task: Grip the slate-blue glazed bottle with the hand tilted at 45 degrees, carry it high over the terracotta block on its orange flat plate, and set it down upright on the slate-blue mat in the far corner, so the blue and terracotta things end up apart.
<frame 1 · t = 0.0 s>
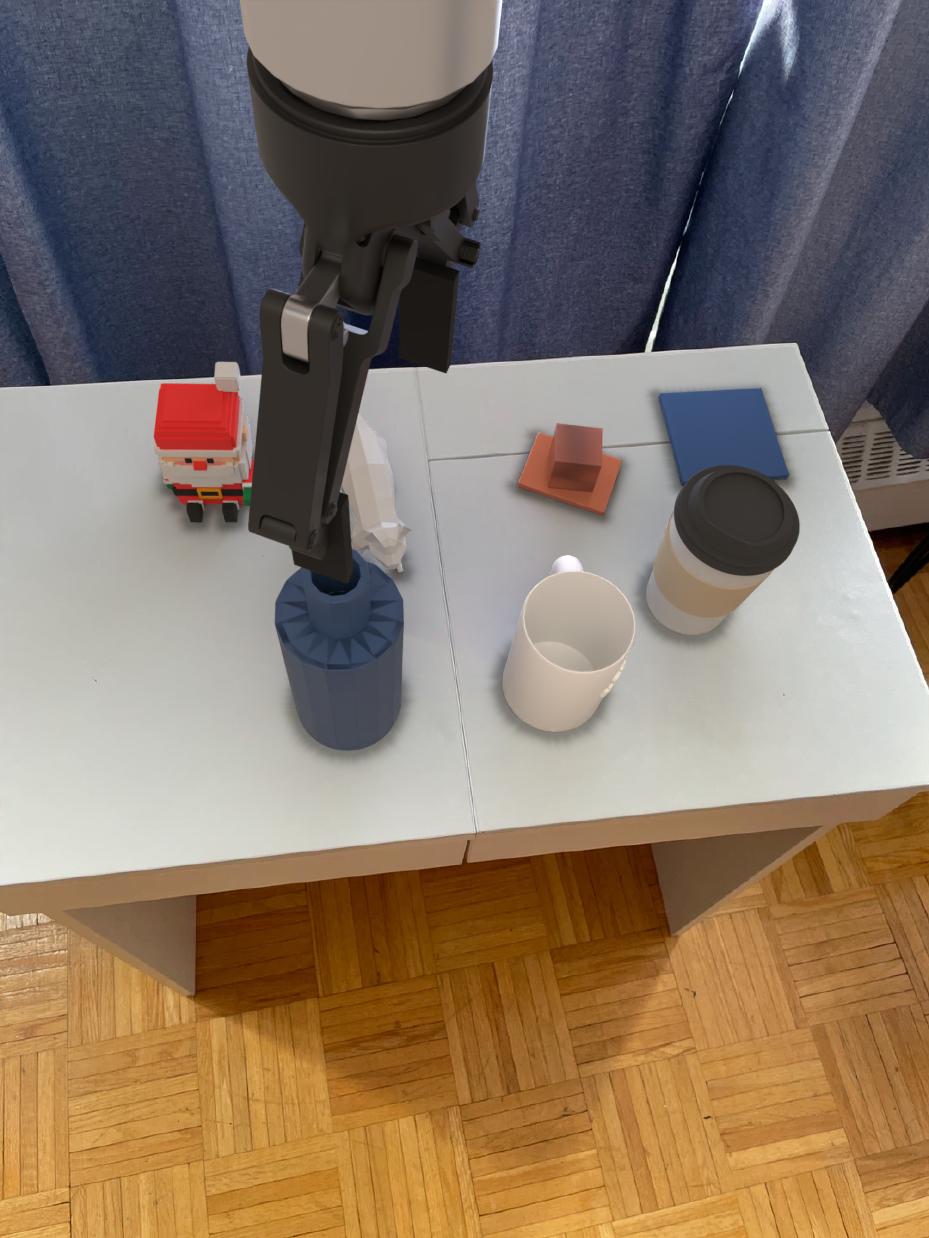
hand: (377, 458, 47), 30 cm above the table, tool pointing down, fingers open, 13 cm apart
terracotta block: (570, 471, 83), point 1 cm above the table, touching orange flat plate
figurine: (217, 488, 81), on the table
blue bottle: (349, 701, 73), on the table
orange flat plate: (569, 475, 84), on the table
blue mat: (721, 437, 87), on the table
mug: (552, 663, 76), on the table
coffee cup: (685, 599, 79), on the table
cat figurine: (367, 519, 80), on the table
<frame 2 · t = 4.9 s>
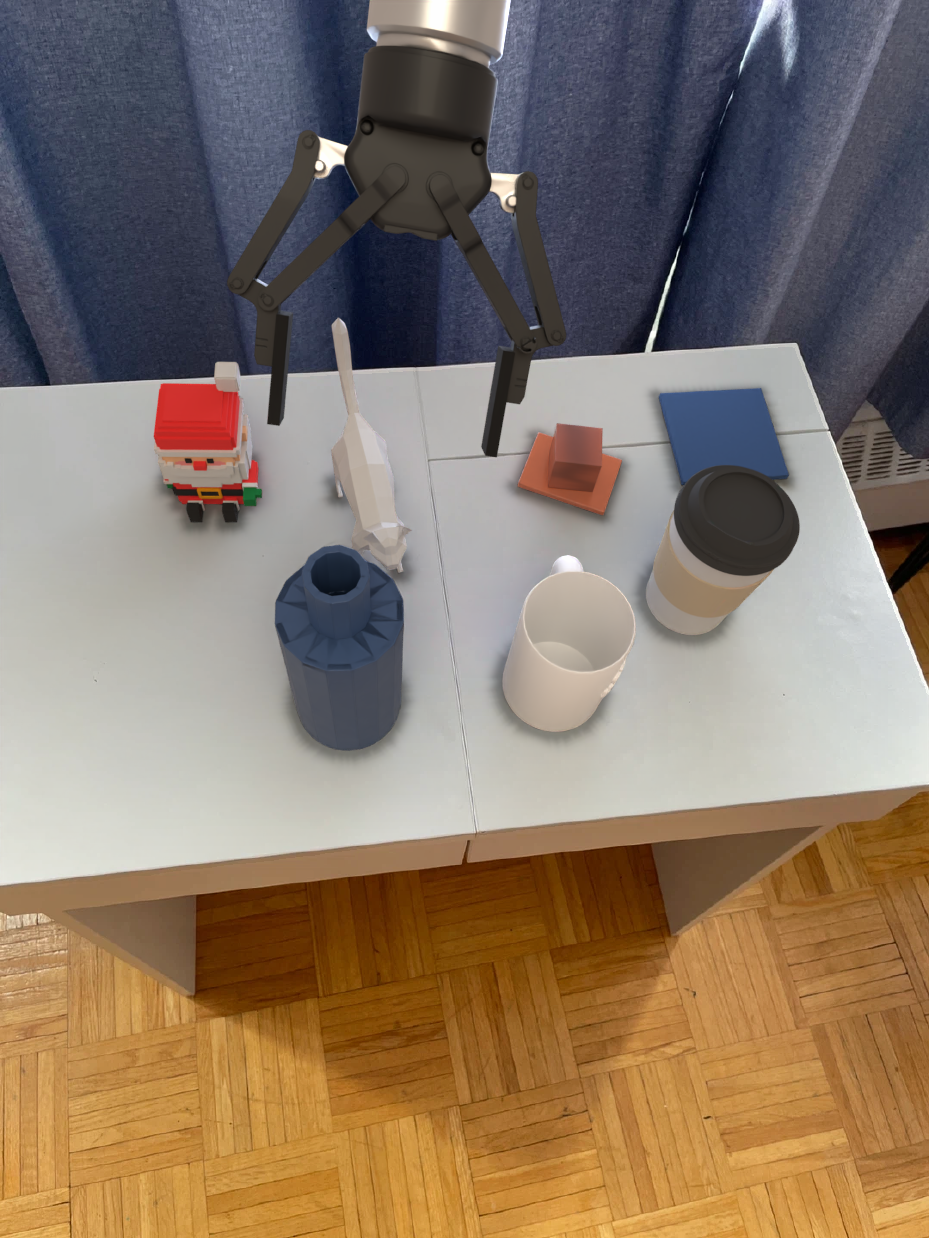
hand: (383, 437, 59), 20 cm above the table, tool tilted 45°, fingers open, 13 cm apart
nothing on the table moved.
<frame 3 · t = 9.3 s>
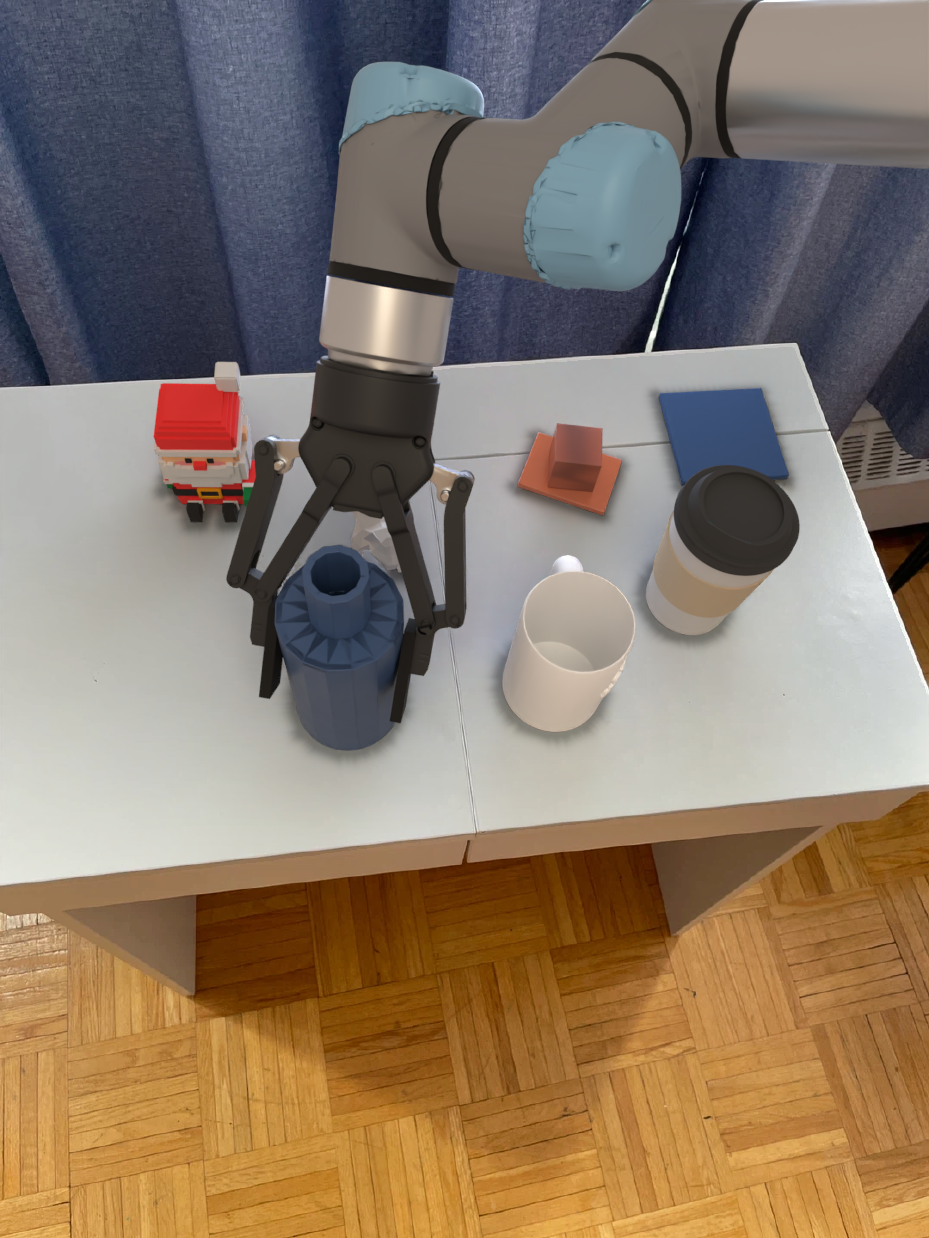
hand: (333, 701, 64), 9 cm above the table, tool tilted 45°, fingers closed on blue bottle, 8 cm apart
blue bottle: (349, 701, 73), on the table, touching gripper
everything else where it was.
when the fingers open (9 cm above the table, at t = 23.4 s): blue bottle stays where it is, resting on blue mat.
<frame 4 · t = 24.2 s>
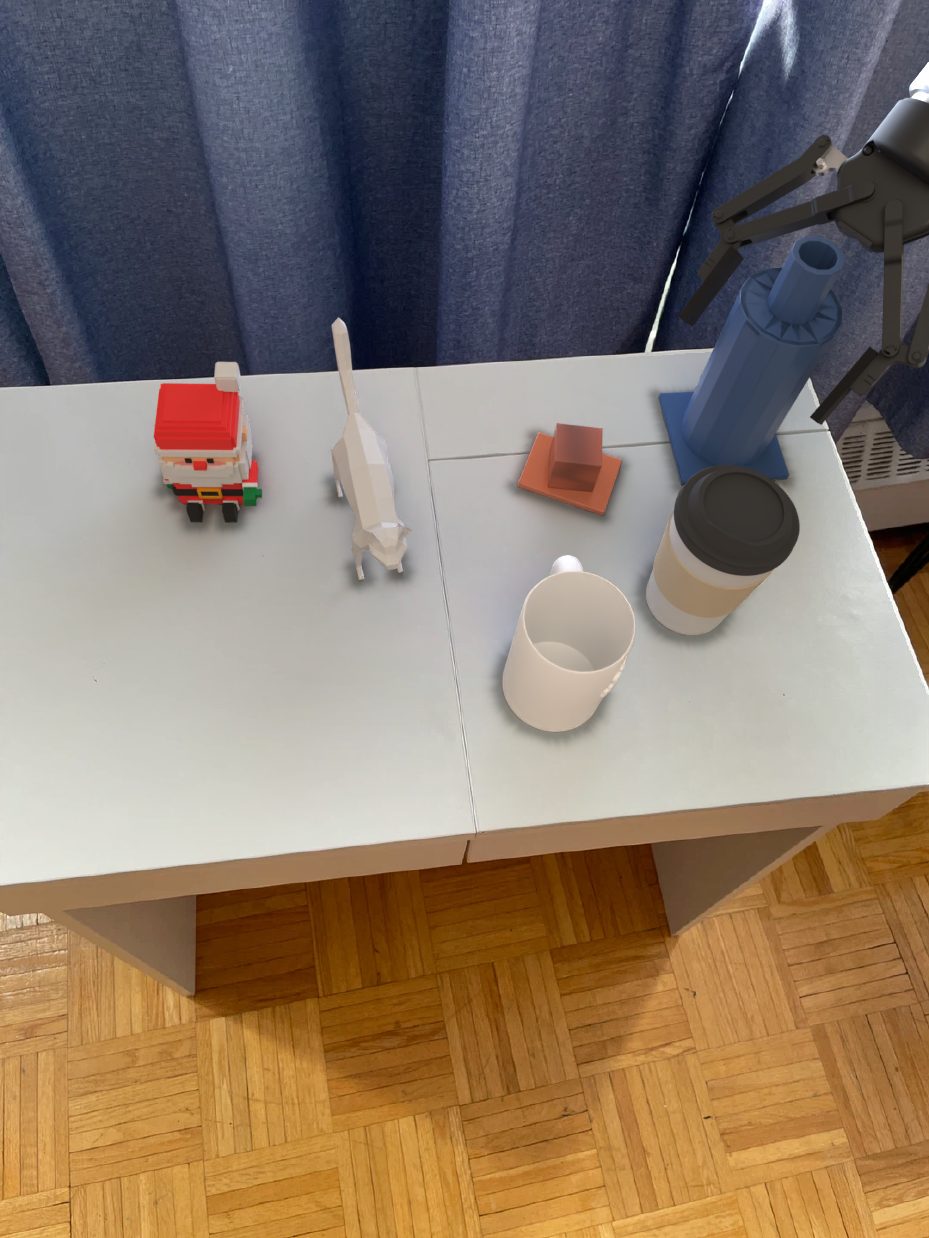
hand: (748, 370, 76), 11 cm above the table, tool tilted 45°, fingers open, 13 cm apart
blue bottle: (724, 432, 86), point 1 cm above the table, touching blue mat
everything else where it was.
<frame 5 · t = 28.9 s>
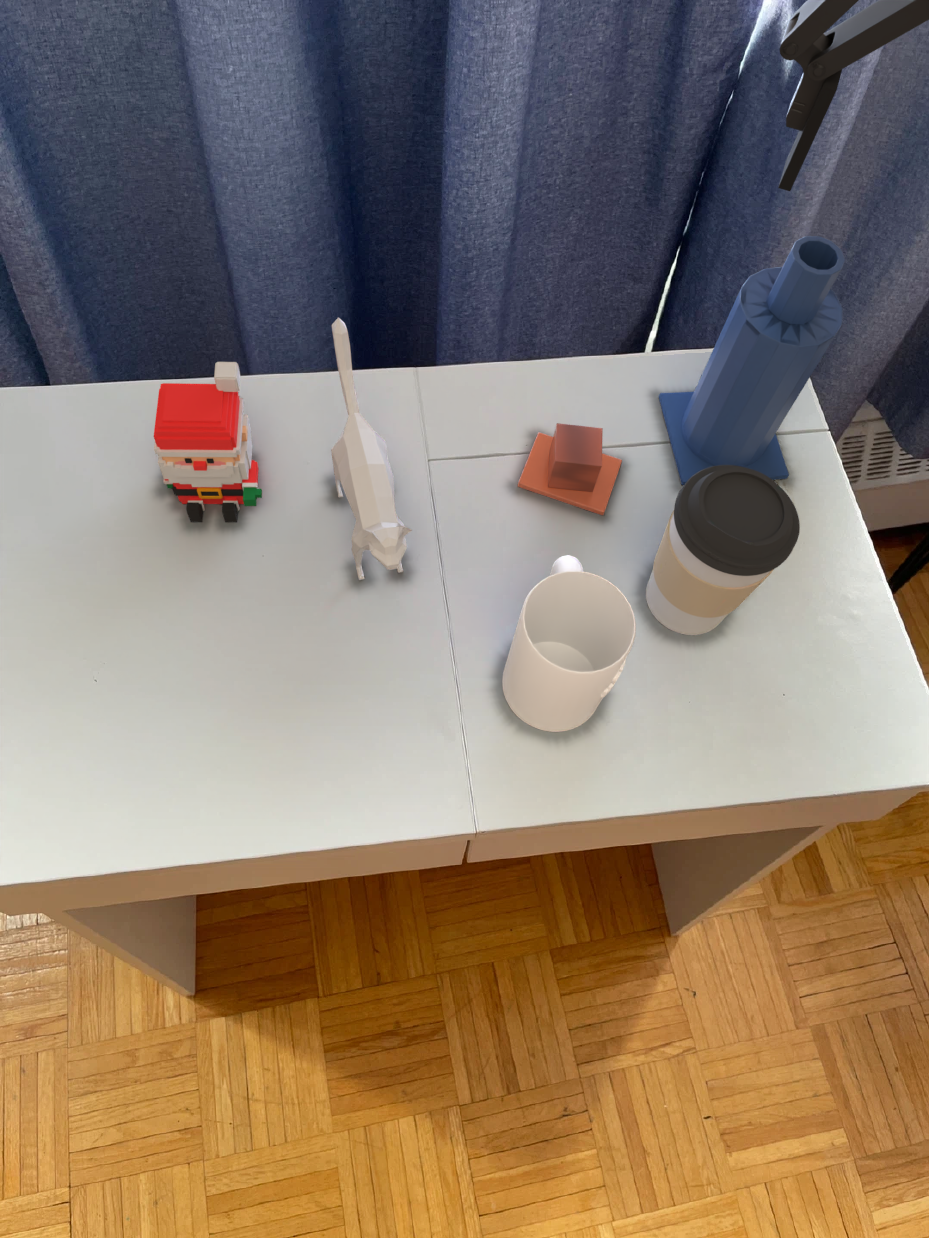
hand: (896, 209, 57), 31 cm above the table, tool pointing down, fingers open, 13 cm apart
nothing on the table moved.
at the end: blue bottle inside the target area on the blue mat (0.1 cm from its centre), point 0.6 cm above the blue mat's base; blue bottle tilted 0°; terracotta block moved 0.0 cm from its start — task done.
